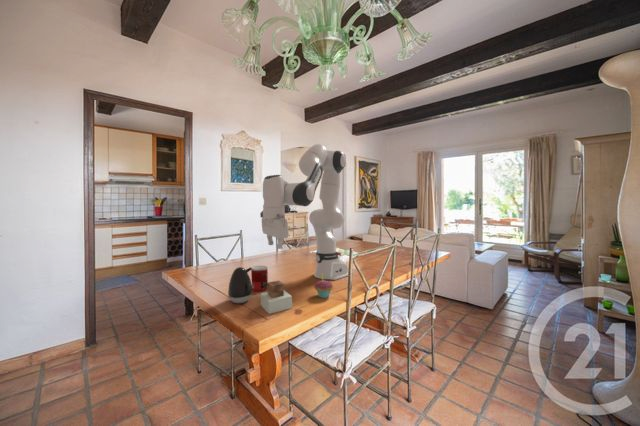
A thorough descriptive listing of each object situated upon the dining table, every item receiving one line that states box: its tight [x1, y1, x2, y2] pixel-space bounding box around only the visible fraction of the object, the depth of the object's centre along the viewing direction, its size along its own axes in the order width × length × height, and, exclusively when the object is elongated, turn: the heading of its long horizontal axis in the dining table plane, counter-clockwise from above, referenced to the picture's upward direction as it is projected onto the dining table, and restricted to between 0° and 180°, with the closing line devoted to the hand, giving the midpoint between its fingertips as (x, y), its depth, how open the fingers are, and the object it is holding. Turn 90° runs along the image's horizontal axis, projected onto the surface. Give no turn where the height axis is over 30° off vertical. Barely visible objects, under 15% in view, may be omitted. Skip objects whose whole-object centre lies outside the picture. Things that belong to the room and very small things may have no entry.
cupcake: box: [314, 273, 334, 299], centre depth 117 cm, size 9×8×12 cm
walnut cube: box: [267, 280, 285, 298], centre depth 106 cm, size 5×5×5 cm
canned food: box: [250, 265, 269, 293], centre depth 127 cm, size 8×8×11 cm
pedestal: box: [260, 290, 293, 315], centre depth 106 cm, size 10×10×5 cm
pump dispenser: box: [227, 266, 253, 304], centre depth 112 cm, size 10×10×15 cm
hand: (275, 246), depth 106 cm, fingers open, 8 cm apart
